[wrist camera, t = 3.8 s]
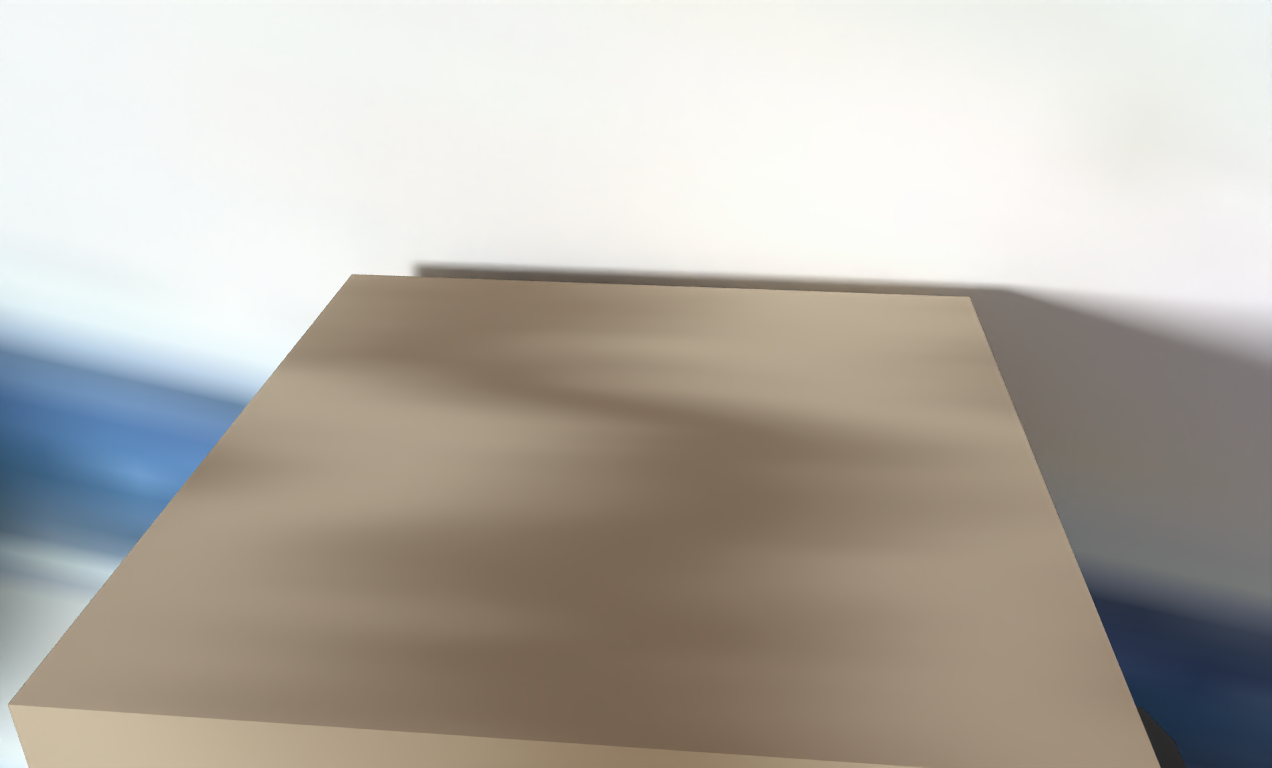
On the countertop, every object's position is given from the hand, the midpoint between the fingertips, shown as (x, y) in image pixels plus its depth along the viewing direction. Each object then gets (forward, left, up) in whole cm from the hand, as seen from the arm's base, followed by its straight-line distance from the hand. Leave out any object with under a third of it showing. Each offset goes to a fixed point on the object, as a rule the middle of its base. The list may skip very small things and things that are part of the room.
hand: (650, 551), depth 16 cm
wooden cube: (0, 0, 0) cm, 0 cm away
